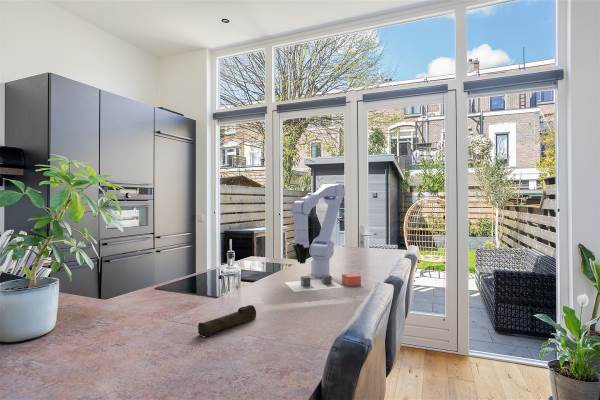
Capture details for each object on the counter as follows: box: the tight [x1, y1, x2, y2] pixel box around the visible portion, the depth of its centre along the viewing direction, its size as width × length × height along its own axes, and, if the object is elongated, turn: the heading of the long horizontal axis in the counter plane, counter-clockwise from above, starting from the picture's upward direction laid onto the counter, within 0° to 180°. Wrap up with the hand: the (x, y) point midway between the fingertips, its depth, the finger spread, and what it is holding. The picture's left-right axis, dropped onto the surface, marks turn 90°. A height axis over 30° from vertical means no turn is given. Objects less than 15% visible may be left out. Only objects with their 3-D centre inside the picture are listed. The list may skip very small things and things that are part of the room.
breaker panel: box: [284, 275, 344, 293], centre depth 138 cm, size 15×20×4 cm
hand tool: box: [197, 304, 257, 336], centre depth 97 cm, size 19×4×5 cm, turn 136°
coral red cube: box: [341, 272, 362, 287], centre depth 139 cm, size 6×6×5 cm
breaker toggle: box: [300, 275, 311, 286], centre depth 137 cm, size 3×3×3 cm
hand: (301, 262), depth 143 cm, fingers open, 2 cm apart
